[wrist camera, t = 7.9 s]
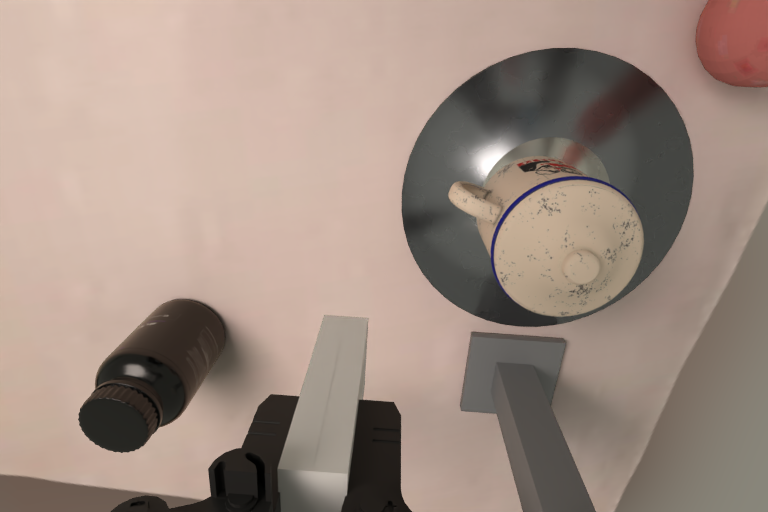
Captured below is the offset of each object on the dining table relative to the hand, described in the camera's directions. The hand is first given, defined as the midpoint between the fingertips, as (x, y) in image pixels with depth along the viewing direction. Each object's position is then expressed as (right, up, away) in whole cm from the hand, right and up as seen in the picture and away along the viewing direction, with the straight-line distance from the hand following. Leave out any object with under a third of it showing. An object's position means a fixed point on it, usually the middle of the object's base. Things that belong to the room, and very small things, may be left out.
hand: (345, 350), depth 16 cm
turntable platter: (+14, +7, +20) cm, 26 cm away
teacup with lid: (+12, +7, +20) cm, 25 cm away
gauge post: (+13, -7, +27) cm, 30 cm away
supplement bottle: (-16, -3, +26) cm, 31 cm away
